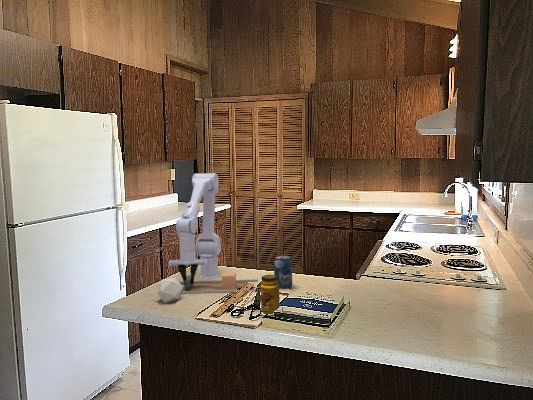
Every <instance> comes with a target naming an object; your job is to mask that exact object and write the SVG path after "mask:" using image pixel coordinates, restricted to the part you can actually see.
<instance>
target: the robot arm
mask: <svg viewBox="0 0 533 400" xmlns="http://www.w3.org/2000/svg"><path fill="white" fill-rule="evenodd" d="M191 178H192V179H191V183H192V187H193V189H192V192H191V197H190V200H189V202H187V203H186V204H185V207H184V209H183V212H182V215H181V217H180V218H179V219H177V220H176V223H175V225H176V226H175V231H176V232H177V237H178V238H179V239H178V240H179V259H173V260H171V259H169V261H168V267H177V271H178V272H179V274H180V276H181V277H182V280H183V281H185V279H186V277H187V276H188V275H187V266H190V267H189V271H190V275H191V284H195V283H194V281H195V276H196V273H197V271H198V268H199V266H200V275H199V277H198V278H218V277H219V275H220V273H221V271H220V270H219V268H218V256H219V254H221V251H222V243H221V237H220V236H219V235H218V234H217V233H215V215H216V214H215V211H216V210H215V208H216V206H215V205H216V194H218V193H219V189H220V188H219V187H220V186H219V185H220V184H219V183H220V180H219V176H218V174H217V173H216V172H213V173H210V172H209V173H194V174H193V175H192V177H191ZM202 198H203V201H202ZM201 201H202V202H203V207H202V208H203V209H202V232H201V234H199V235H198V236H197V237H196V242H195V233H196V231H197V230H198V229H197V228H198V220H197V219H198V216H199V213H200V210H201V206H200V203H201ZM196 253H197V255H198V257H199V258H198V259H197V258H196Z"/></svg>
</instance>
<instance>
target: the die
mask: <svg viewBox="0 0 533 400" xmlns="http://www.w3.org/2000/svg"><path fill="white" fill-rule="evenodd" d="M183 289H184V286H183V285H181V284H180V283H179V282H178V280H177V279H176V277H170V278H165V279H161V280H160V281H159V285H158V288H157V290H156V294H157V296H158V297H159V298H160V299H161V300H162V302H163V303H164V304H168V303H171V302H177V301H178V300H180V297H181V295H182V294H181V292H182V291H183ZM180 294H181V295H180Z"/></svg>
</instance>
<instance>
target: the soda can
mask: <svg viewBox="0 0 533 400" xmlns="http://www.w3.org/2000/svg"><path fill="white" fill-rule="evenodd" d="M273 275H276V276H277V277H278V284H279V290H284V289H286V290H287V289H289V290H290V289H291V288H292V286H293V260H292V259H291V256H290V255H277V256H275V258H274V260H273Z"/></svg>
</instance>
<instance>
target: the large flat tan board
mask: <svg viewBox="0 0 533 400" xmlns="http://www.w3.org/2000/svg"><path fill="white" fill-rule="evenodd" d="M186 276H187V277H186V279H185V281H184V285H183V286H184V288H183V289H184V290H183V291H218V290H237V289H238V288H241V287H243V286H244V285H246V284H248V283H249V282H236V288H235V289H222V283H193V284H191V274H187V275H186ZM248 285H249V284H248Z"/></svg>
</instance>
